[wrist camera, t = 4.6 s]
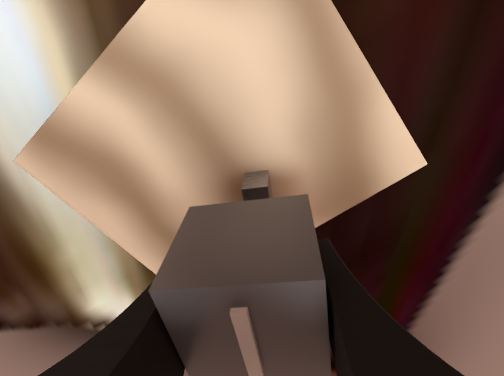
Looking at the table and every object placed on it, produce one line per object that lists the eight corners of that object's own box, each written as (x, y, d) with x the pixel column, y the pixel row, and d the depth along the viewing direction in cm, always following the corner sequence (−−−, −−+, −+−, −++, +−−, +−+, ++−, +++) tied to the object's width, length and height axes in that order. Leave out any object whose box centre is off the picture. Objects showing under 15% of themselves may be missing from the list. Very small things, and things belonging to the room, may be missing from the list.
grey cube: (315, 282, 14) (333, 390, 10) (215, 289, 14) (192, 391, 10) (307, 194, 11) (326, 285, 7) (189, 206, 12) (145, 296, 8)
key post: (275, 215, 18) (275, 235, 16) (253, 217, 18) (251, 237, 16) (268, 169, 16) (267, 186, 15) (244, 172, 16) (241, 189, 15)
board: (193, 285, 23) (188, 300, 22) (31, 151, 18) (12, 160, 17) (415, 153, 17) (427, 164, 15) (256, -112, 12) (253, -131, 10)
